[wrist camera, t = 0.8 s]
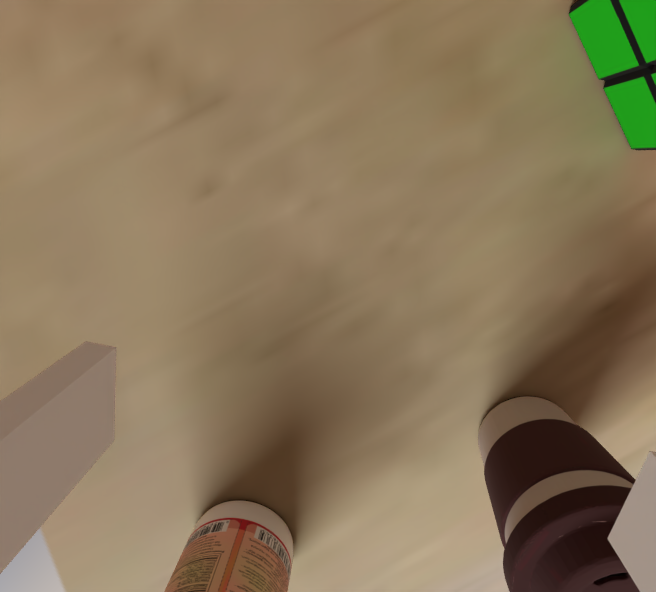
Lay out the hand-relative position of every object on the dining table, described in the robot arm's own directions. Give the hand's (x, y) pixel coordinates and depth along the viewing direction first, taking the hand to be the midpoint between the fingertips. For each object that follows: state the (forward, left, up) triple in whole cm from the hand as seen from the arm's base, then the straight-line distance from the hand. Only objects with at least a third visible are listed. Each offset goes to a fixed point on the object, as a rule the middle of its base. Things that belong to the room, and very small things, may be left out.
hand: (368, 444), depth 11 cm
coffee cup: (+12, +15, -23) cm, 30 cm away
